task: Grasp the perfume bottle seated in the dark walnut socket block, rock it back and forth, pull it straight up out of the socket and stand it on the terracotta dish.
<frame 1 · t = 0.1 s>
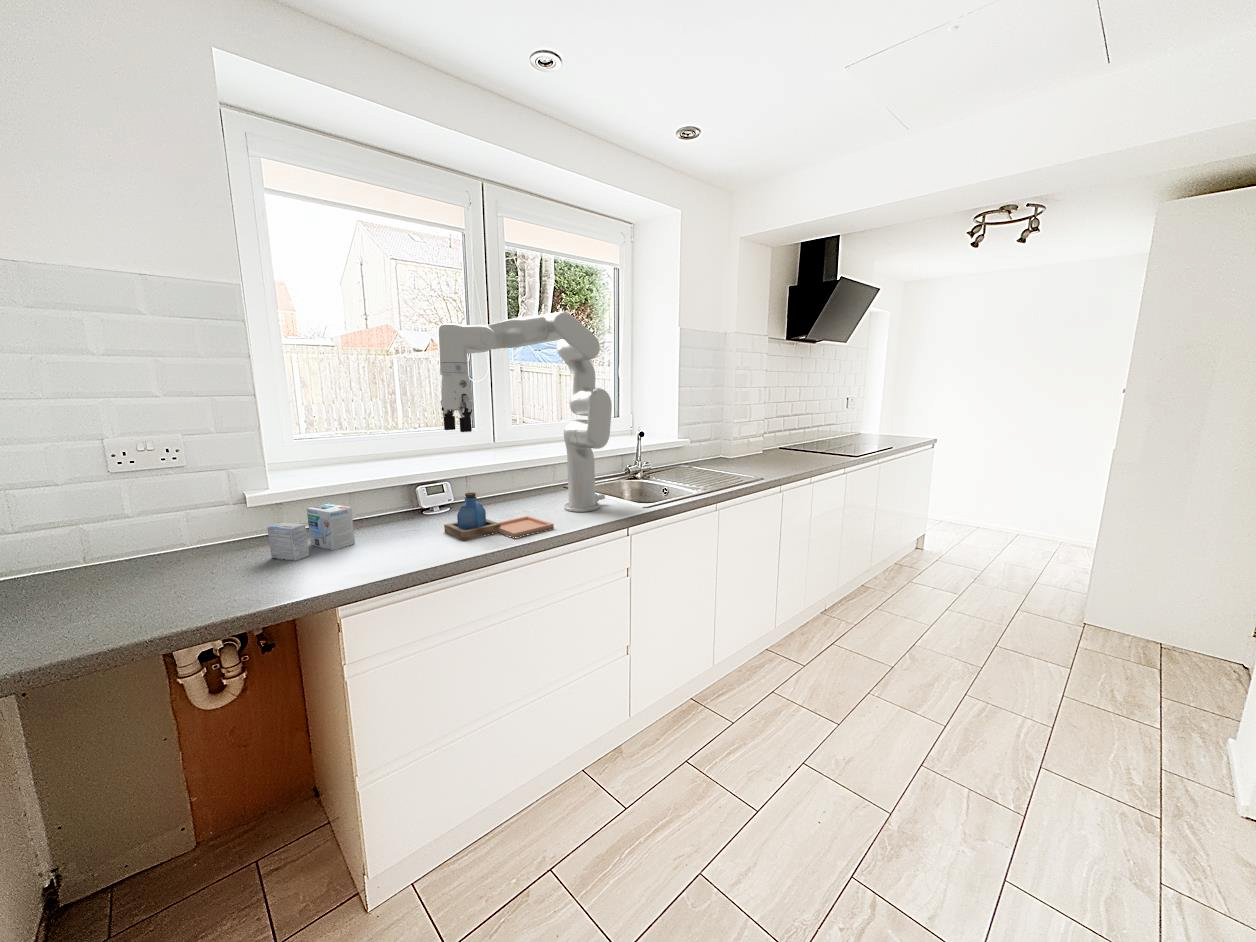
hand: (457, 430, 143), 31 cm above the worktop, tool pointing down, fingers open, 9 cm apart
socket block: (472, 532, 151), on the worktop
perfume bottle: (472, 533, 151), resting in socket block
medicine box: (290, 558, 131), on the worktop
dish: (521, 529, 154), on the worktop
light bulb box: (333, 545, 141), on the worktop
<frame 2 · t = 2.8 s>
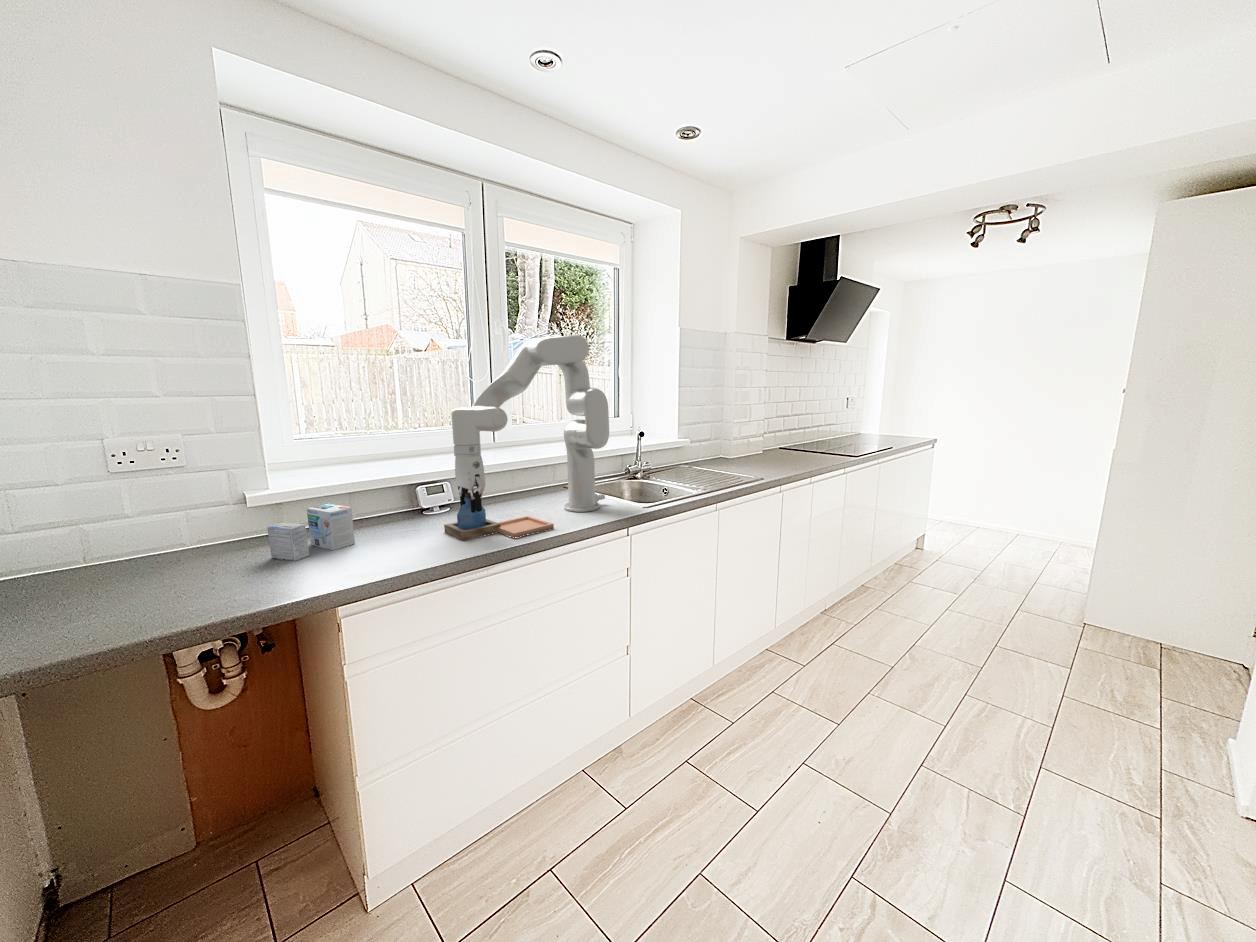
hand: (471, 509, 150), 7 cm above the worktop, tool pointing down, fingers closed on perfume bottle, 5 cm apart
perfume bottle: (472, 532, 151), resting in socket block, touching gripper
everything else where it was.
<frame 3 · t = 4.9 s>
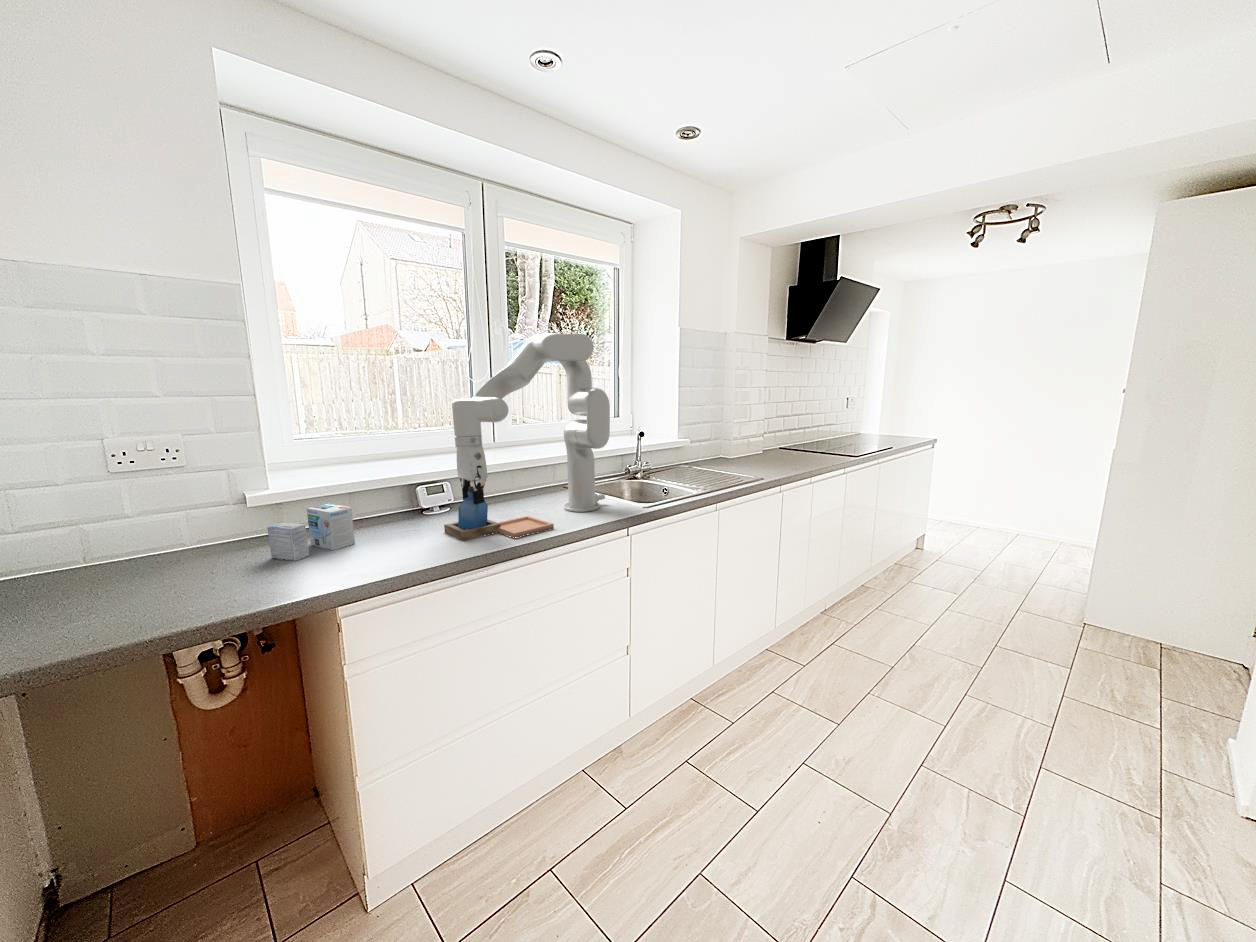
hand: (473, 501, 150), 10 cm above the worktop, tool pointing down, fingers closed on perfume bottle, 5 cm apart
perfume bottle: (472, 526, 151), point 2 cm above the worktop, touching gripper
everything else where it was.
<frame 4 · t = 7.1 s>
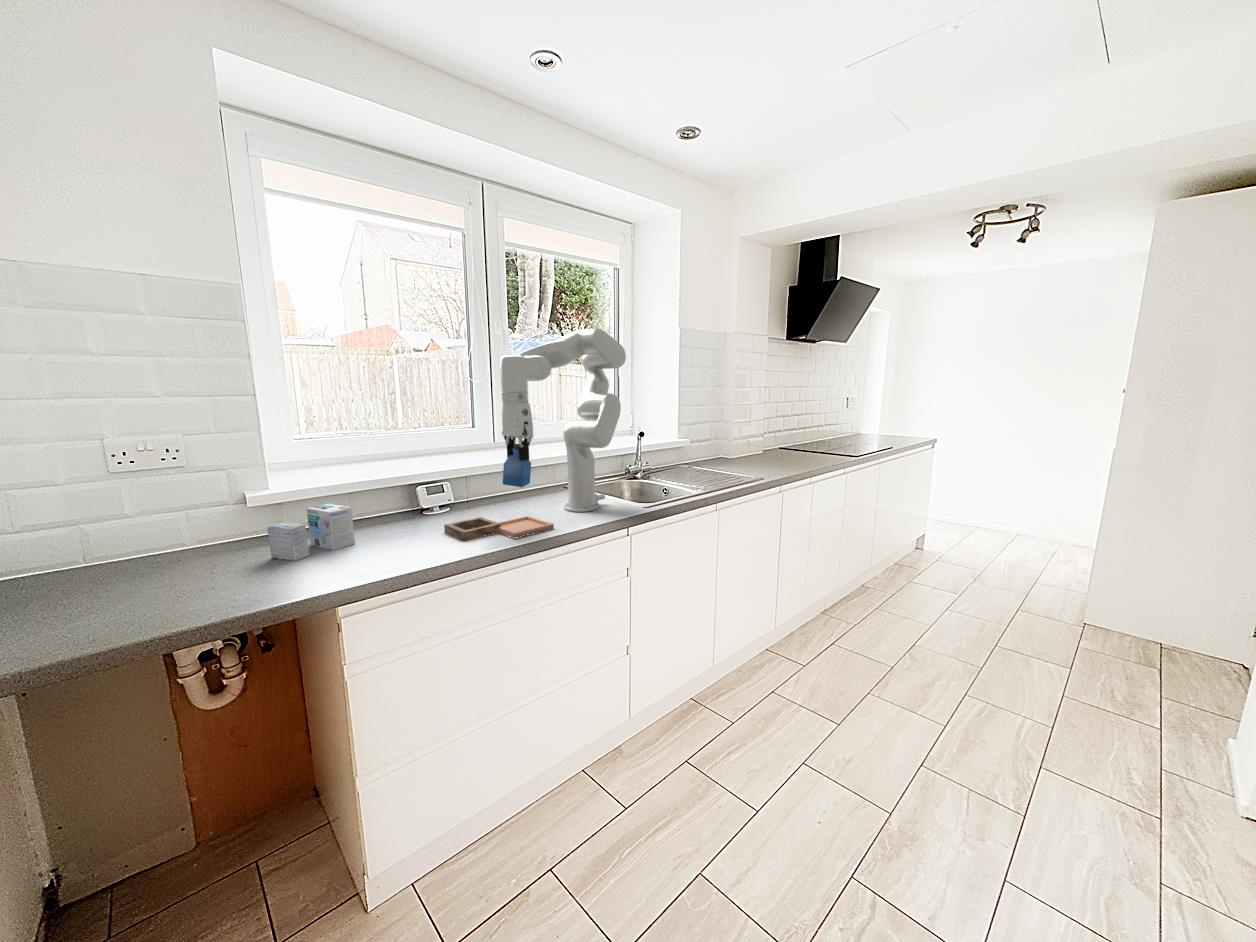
hand: (518, 458, 151), 22 cm above the worktop, tool pointing down, fingers closed on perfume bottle, 5 cm apart
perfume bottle: (516, 484, 152), point 14 cm above the worktop, touching gripper
everything else where it was.
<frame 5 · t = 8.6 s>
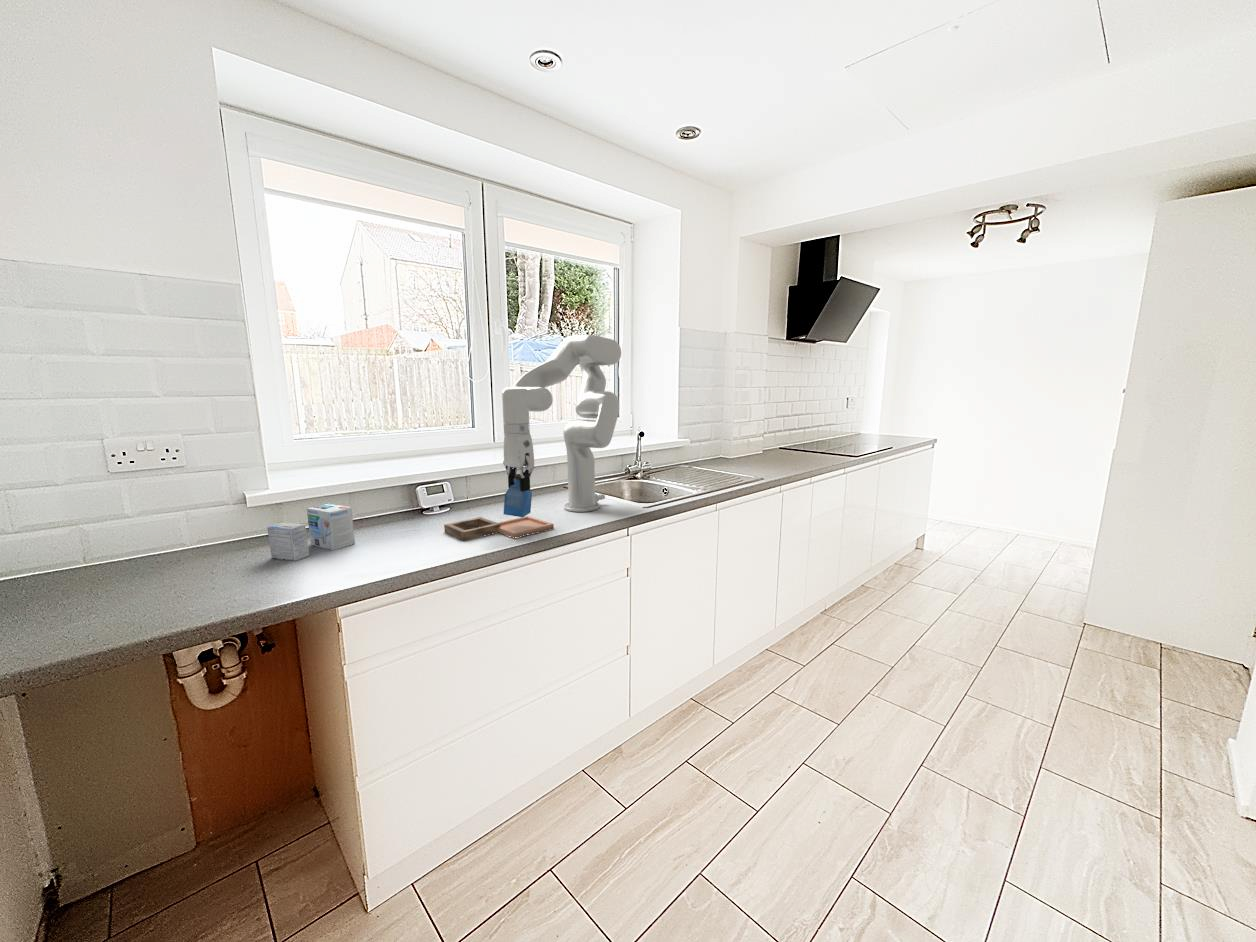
hand: (519, 488, 152), 13 cm above the worktop, tool pointing down, fingers closed on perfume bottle, 5 cm apart
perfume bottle: (517, 514, 153), point 5 cm above the worktop, touching gripper
everything else where it was.
when the fingers open (9 cm above the worktop, at t = 10.0 s): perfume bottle stays where it is, resting on dish.
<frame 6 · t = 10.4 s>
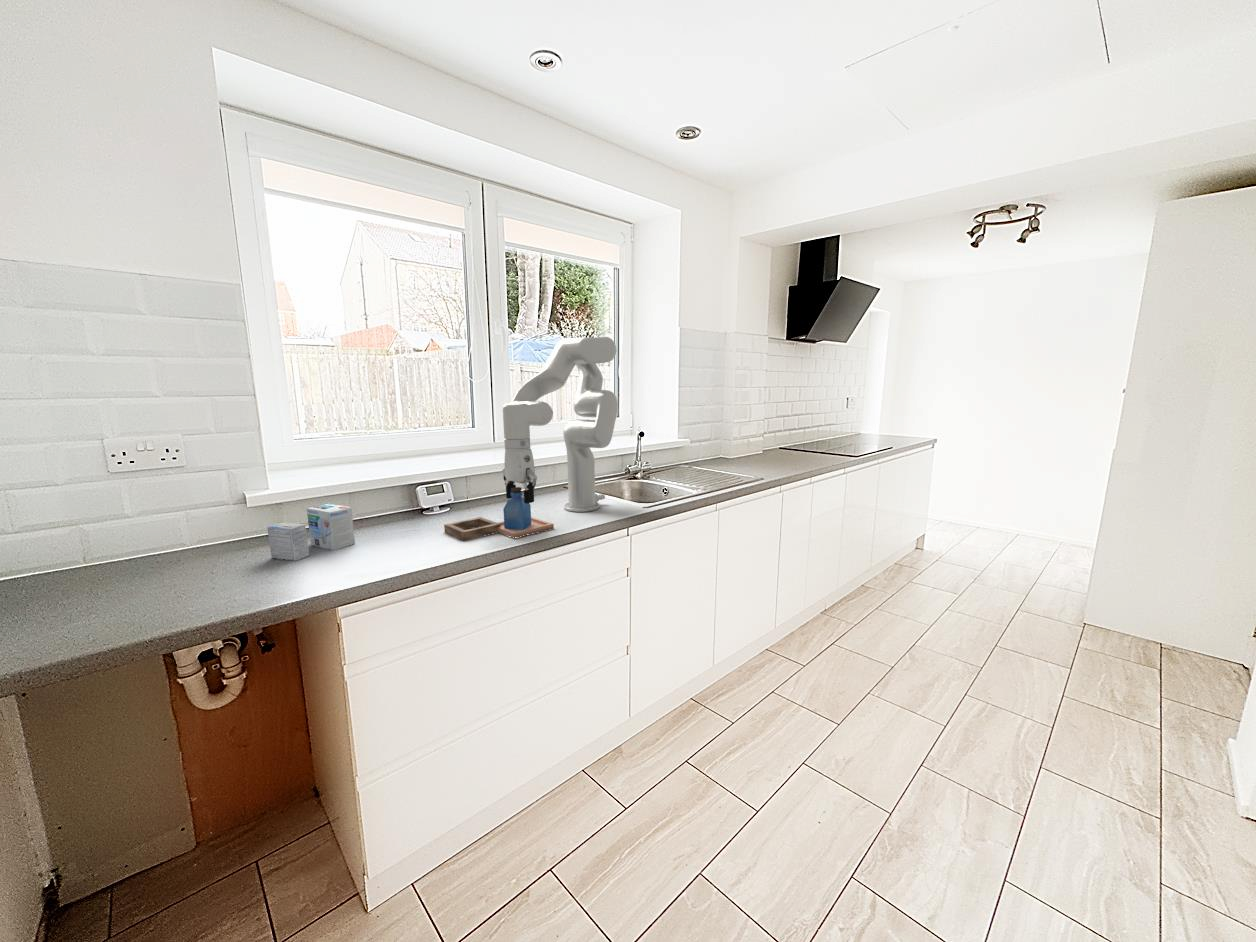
hand: (520, 500, 153), 9 cm above the worktop, tool pointing down, fingers open, 9 cm apart
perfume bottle: (518, 527, 154), point 1 cm above the worktop, touching dish
everything else where it was.
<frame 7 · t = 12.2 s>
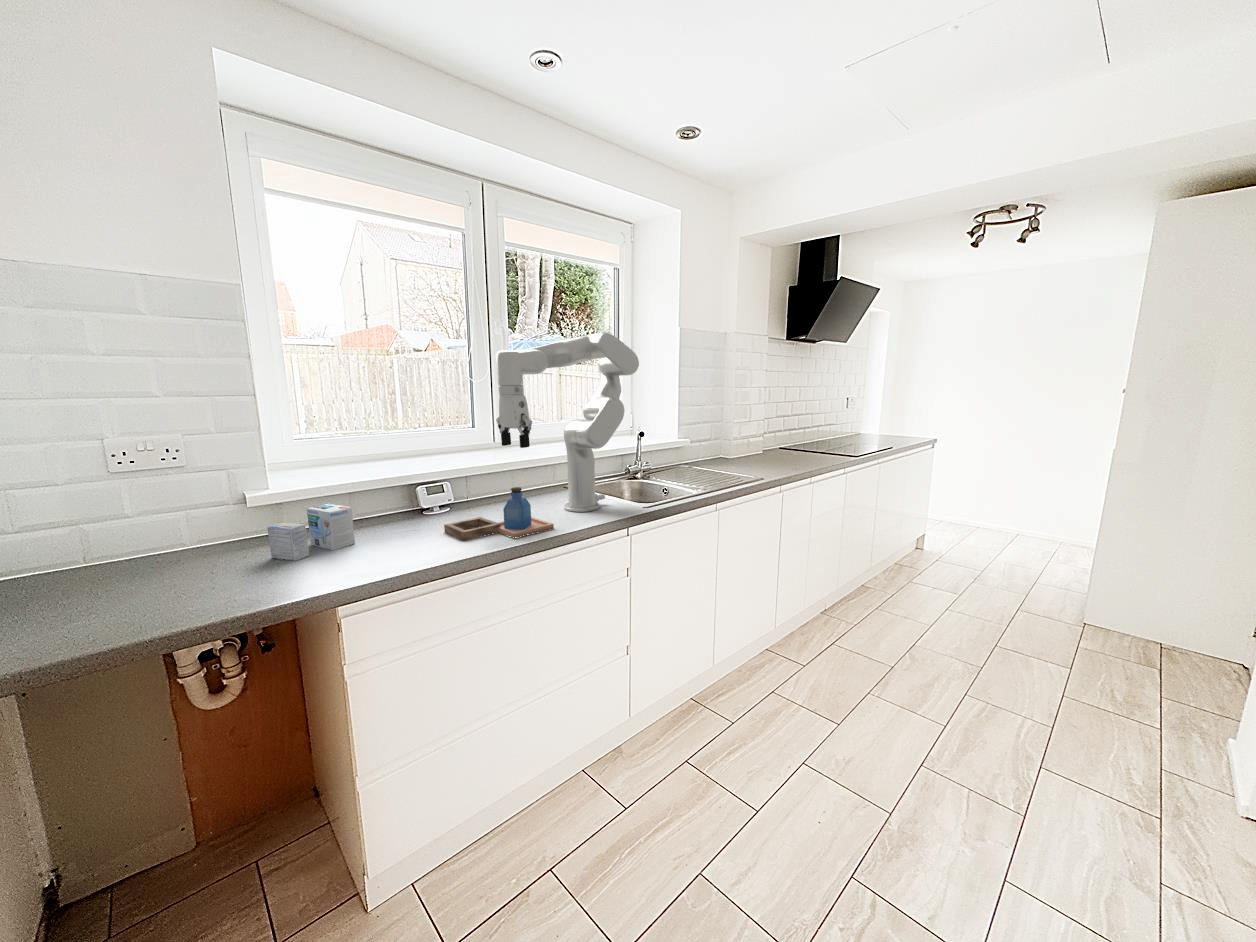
hand: (515, 446, 158), 25 cm above the worktop, tool pointing down, fingers open, 9 cm apart
nothing on the worktop moved.
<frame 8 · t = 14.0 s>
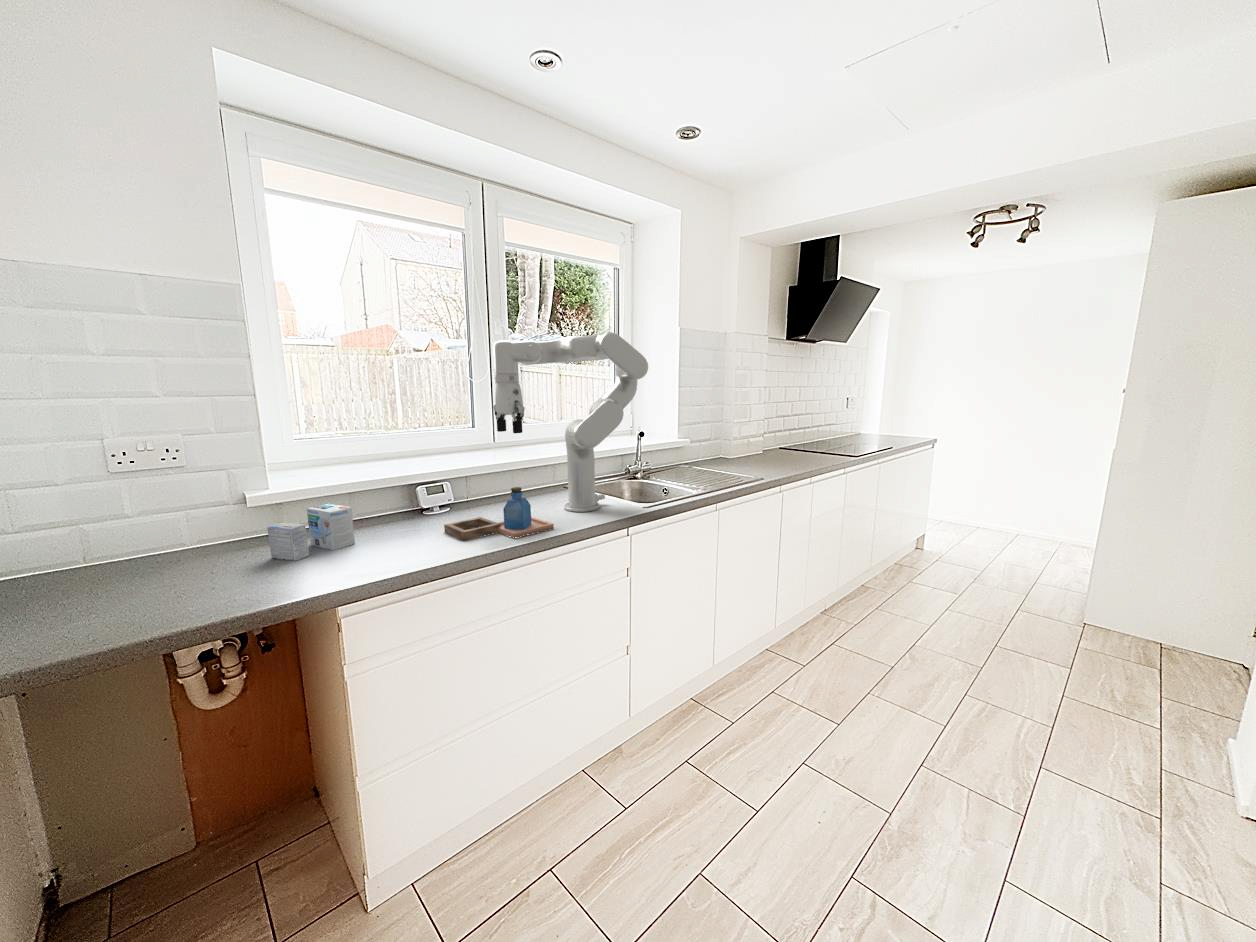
hand: (509, 432, 167), 28 cm above the worktop, tool pointing down, fingers open, 9 cm apart
nothing on the worktop moved.
at the end: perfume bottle inside the target area on the dish (1.1 cm from its centre), point 0.6 cm above the dish's base; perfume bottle tilted 0°; the gripper is holding nothing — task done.
